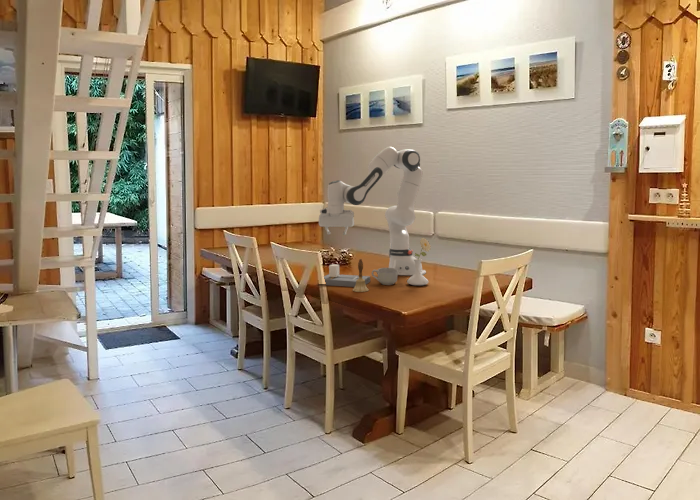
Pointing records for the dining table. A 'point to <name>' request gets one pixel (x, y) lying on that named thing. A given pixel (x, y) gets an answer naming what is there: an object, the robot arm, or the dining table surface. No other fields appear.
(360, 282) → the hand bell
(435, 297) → the dining table surface
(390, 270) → the teacup
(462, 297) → the dining table surface
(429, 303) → the dining table surface
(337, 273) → the fader
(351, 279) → the console
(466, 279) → the dining table surface
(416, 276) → the flower in vase
